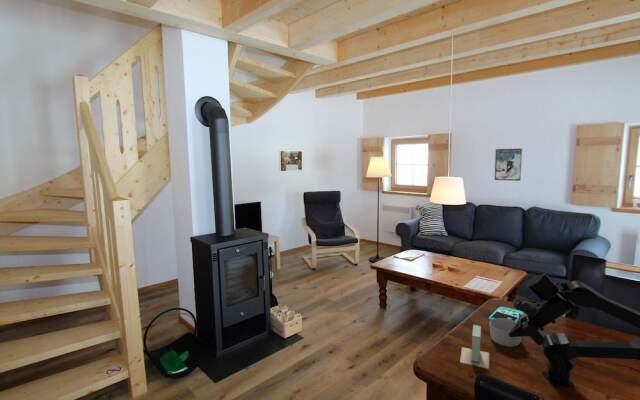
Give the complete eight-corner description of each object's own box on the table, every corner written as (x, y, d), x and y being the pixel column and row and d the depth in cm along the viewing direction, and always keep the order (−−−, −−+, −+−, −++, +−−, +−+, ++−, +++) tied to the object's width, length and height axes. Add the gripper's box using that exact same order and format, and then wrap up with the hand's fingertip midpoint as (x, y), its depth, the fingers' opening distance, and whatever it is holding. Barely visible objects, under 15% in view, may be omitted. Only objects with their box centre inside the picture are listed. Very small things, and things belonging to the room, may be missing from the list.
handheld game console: (524, 314, 155) (524, 311, 155) (513, 328, 144) (513, 325, 143) (500, 307, 162) (500, 305, 162) (488, 320, 150) (488, 317, 150)
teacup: (513, 355, 124) (514, 334, 123) (483, 342, 132) (484, 323, 131) (528, 341, 133) (529, 321, 132) (499, 330, 141) (500, 312, 140)
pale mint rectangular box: (479, 352, 124) (481, 326, 122) (479, 364, 117) (480, 337, 115) (472, 350, 125) (473, 324, 123) (471, 362, 118) (472, 335, 116)
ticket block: (488, 356, 124) (489, 352, 123) (488, 372, 115) (489, 368, 114) (461, 350, 127) (462, 347, 127) (459, 366, 119) (460, 362, 118)
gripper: (527, 280, 119) (490, 305, 125) (534, 302, 102) (491, 329, 108) (553, 305, 116) (514, 329, 123) (564, 332, 100) (518, 358, 106)
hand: (509, 335), depth 115 cm, fingers closed
